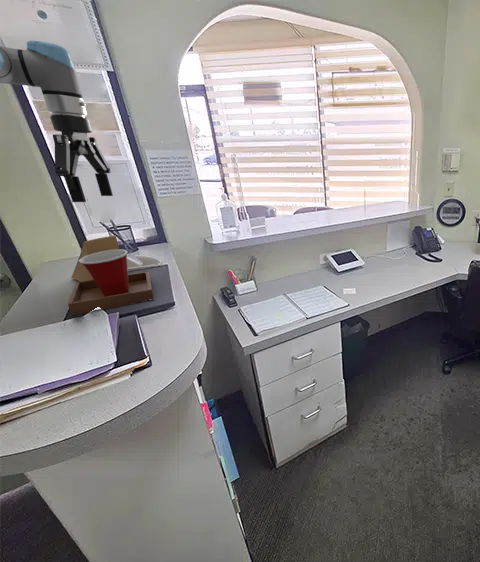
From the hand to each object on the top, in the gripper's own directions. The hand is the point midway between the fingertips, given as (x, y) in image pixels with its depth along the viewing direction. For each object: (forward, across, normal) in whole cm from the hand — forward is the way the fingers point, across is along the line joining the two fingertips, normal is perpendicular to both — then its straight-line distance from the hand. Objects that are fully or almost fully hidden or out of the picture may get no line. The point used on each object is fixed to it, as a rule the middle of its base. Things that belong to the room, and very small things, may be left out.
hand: (94, 198), depth 89 cm
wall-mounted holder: (+27, +16, +5) cm, 32 cm away
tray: (+27, -10, -3) cm, 29 cm away
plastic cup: (+26, -10, -3) cm, 28 cm away
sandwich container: (+27, +6, +8) cm, 28 cm away
